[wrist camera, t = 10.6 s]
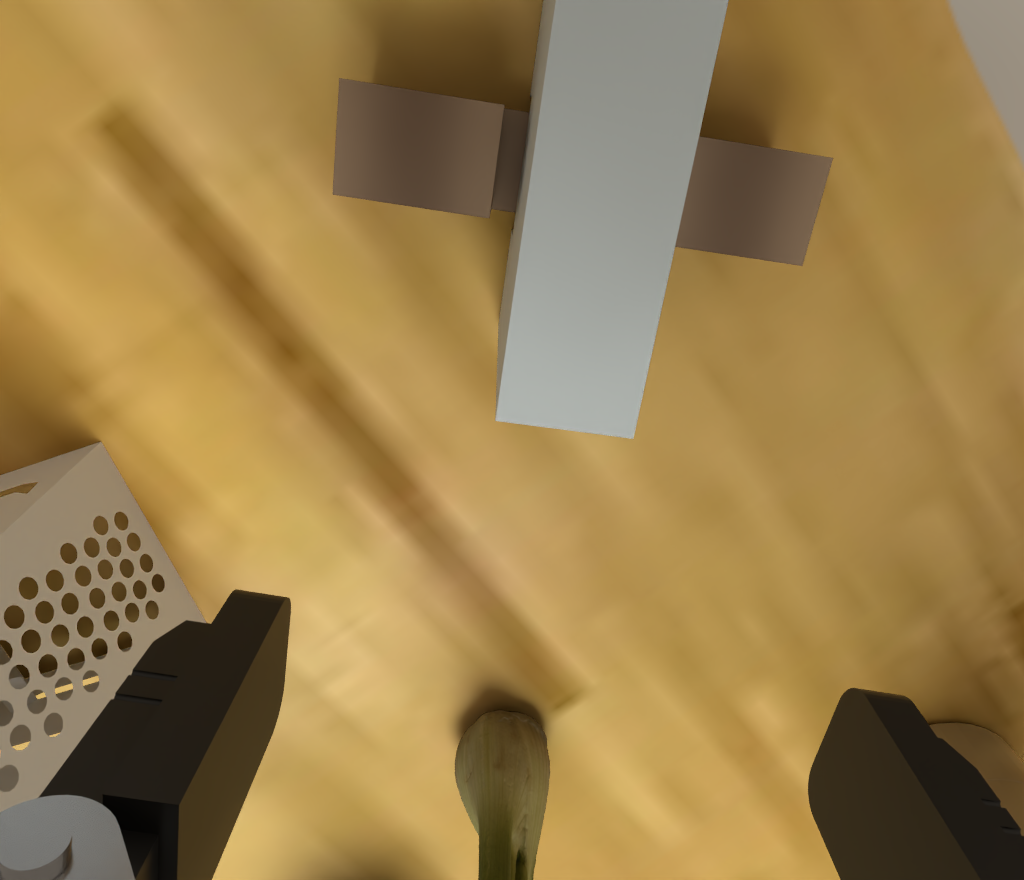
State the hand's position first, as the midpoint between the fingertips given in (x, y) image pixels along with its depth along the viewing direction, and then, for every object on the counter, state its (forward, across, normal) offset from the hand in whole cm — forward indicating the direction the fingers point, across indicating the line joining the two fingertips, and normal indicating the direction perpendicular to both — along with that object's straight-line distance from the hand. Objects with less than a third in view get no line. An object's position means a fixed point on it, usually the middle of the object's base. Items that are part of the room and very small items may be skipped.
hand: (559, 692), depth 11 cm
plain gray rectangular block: (+24, 0, -6) cm, 24 cm away
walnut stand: (+24, 0, -6) cm, 24 cm away
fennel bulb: (+24, -3, +23) cm, 33 cm away
